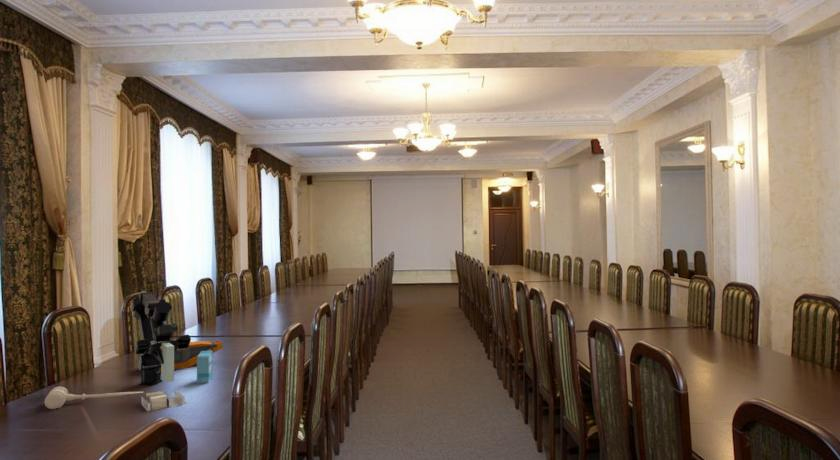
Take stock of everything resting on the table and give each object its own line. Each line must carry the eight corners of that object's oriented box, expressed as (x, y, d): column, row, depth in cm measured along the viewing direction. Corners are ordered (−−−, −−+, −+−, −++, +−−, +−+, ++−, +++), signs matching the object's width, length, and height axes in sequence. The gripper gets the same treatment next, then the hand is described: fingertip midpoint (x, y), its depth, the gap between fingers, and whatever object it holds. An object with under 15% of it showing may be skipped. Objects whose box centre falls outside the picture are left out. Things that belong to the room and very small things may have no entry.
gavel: (146, 397, 204) (48, 402, 190) (148, 382, 205) (49, 385, 190) (146, 405, 195) (42, 411, 181) (147, 389, 195) (44, 393, 181)
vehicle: (225, 363, 248) (225, 342, 248) (145, 374, 229) (145, 351, 229) (218, 357, 260) (218, 337, 260) (141, 367, 241) (141, 345, 241)
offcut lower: (146, 403, 185) (146, 398, 186) (161, 400, 189) (161, 395, 189) (151, 409, 179) (151, 404, 179) (166, 406, 182) (166, 401, 182)
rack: (140, 406, 185) (140, 396, 185) (179, 399, 193) (179, 389, 194) (147, 413, 178) (147, 403, 178) (187, 406, 186) (187, 396, 186)
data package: (208, 385, 212) (208, 355, 212) (196, 386, 210) (196, 356, 211) (212, 377, 223) (212, 349, 223) (201, 378, 222) (201, 350, 222)
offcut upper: (146, 398, 186) (146, 393, 186) (161, 395, 189) (161, 390, 189) (151, 404, 179) (151, 398, 179) (166, 401, 182) (166, 396, 182)
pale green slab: (161, 377, 196) (161, 343, 196) (168, 376, 198) (168, 342, 198) (166, 382, 190) (166, 346, 190) (173, 381, 191) (174, 345, 191)
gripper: (136, 318, 193) (142, 354, 184) (189, 313, 204) (197, 346, 196) (132, 336, 199) (138, 371, 190) (183, 331, 210) (191, 363, 202)
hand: (167, 362), depth 194 cm, fingers closed on pale green slab, 2 cm apart
